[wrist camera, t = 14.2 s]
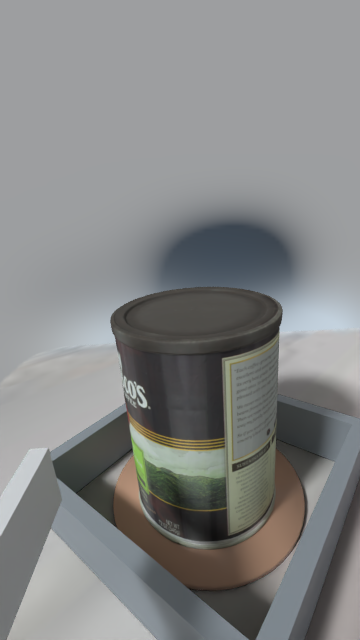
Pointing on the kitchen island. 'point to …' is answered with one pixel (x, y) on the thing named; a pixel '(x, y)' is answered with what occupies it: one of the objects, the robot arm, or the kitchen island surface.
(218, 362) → the coffee can
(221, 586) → the resting pad
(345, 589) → the kitchen island surface
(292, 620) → the grey square tray
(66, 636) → the kitchen island surface
